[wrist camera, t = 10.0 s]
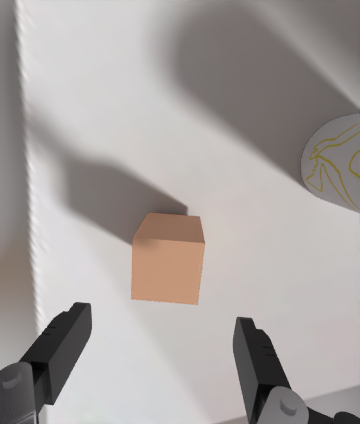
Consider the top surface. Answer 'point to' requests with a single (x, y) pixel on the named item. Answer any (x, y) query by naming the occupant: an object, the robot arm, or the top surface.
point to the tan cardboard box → (167, 259)
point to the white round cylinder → (334, 162)
